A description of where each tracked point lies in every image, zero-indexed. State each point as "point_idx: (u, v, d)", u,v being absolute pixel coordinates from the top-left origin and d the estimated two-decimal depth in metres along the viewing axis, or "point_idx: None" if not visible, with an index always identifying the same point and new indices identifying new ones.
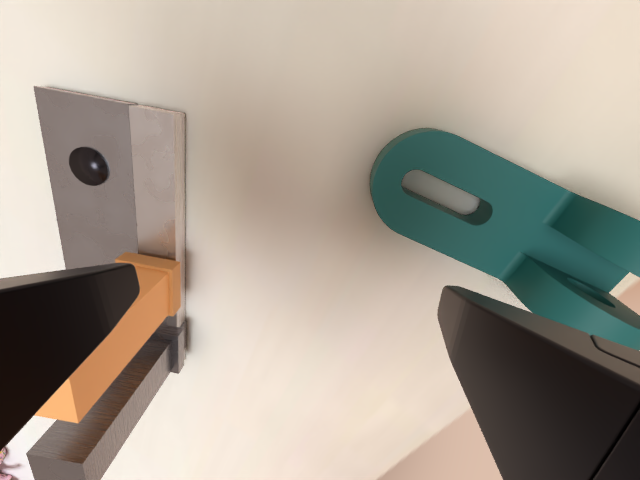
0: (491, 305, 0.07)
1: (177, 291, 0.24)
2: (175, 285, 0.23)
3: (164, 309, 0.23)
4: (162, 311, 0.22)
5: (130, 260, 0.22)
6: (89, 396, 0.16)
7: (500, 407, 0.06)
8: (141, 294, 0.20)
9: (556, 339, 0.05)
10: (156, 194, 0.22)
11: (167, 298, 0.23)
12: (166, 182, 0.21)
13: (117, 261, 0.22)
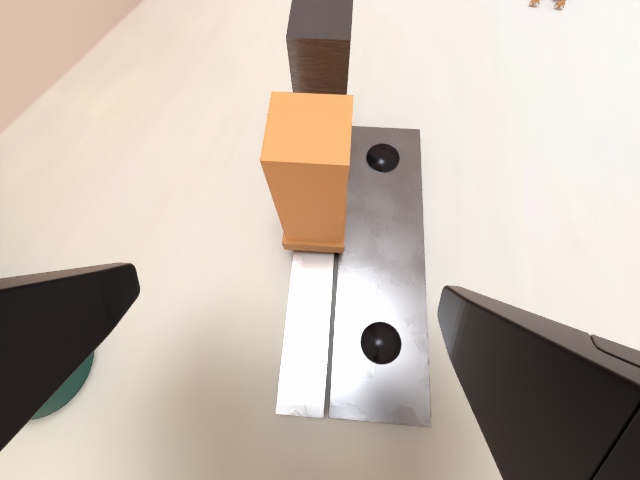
0: (491, 305, 0.07)
1: None
2: None
3: None
4: None
5: (329, 247, 0.21)
6: None
7: (500, 407, 0.06)
8: (284, 222, 0.18)
9: (556, 339, 0.05)
10: (305, 321, 0.21)
11: None
12: (293, 336, 0.20)
13: (341, 245, 0.21)
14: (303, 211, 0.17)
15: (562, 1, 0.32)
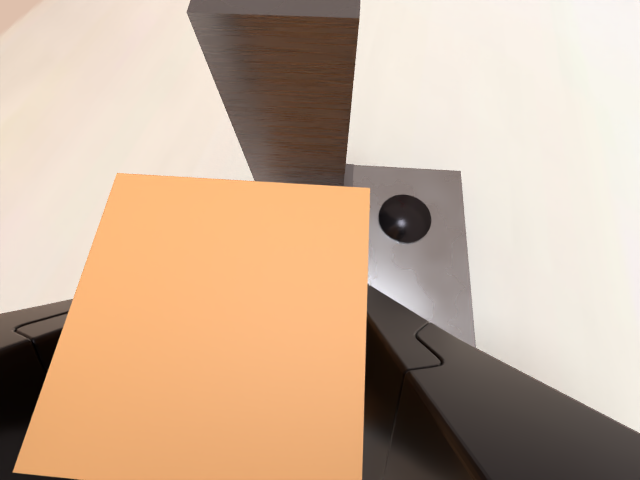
0: None
1: None
2: None
3: None
4: None
5: None
6: None
7: None
8: None
9: (386, 326, 0.05)
10: None
11: None
12: None
13: None
14: None
15: None
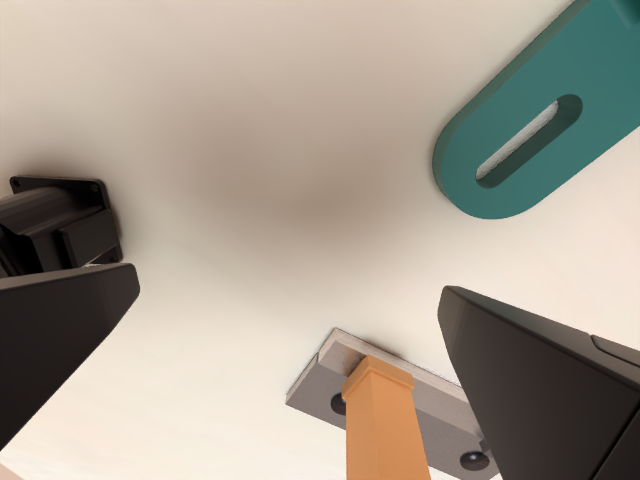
0: (491, 305, 0.07)
1: (393, 370, 0.24)
2: (386, 369, 0.24)
3: (402, 391, 0.23)
4: (402, 395, 0.23)
5: (347, 388, 0.25)
6: None
7: (500, 407, 0.06)
8: (371, 405, 0.21)
9: (556, 339, 0.05)
10: None
11: (393, 383, 0.23)
12: None
13: (344, 398, 0.25)
14: (363, 438, 0.20)
15: None
